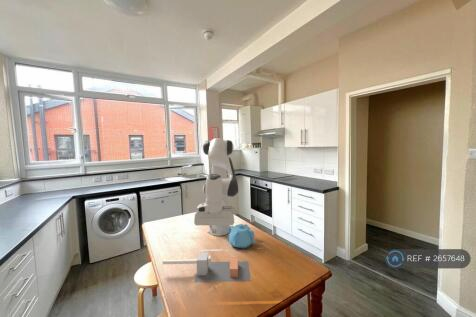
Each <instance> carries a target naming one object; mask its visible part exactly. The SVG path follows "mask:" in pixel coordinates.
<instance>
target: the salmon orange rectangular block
mask: <svg viewBox="0 0 476 317" xmlns="http://www.w3.org/2000/svg"><path fill="white" fill-rule="evenodd" d="M229 262H230V277H238V257H229Z"/></svg>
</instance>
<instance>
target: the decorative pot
mask: <svg viewBox="0 0 476 317" xmlns="http://www.w3.org/2000/svg"><path fill="white" fill-rule="evenodd" d="M229 226H230V227H229V233H228V234H227V237H228V242H229V244H230V245H231V246H232V247H235V248H240V249H242V250H245V249H246V248H248V247H250V246H251V245H253V244H255V242H256V241H255V239H254V238H255V232H254V230H252V229H251V227H250V226H249V225H248V224H247V223H246V224H243V223H239V224H236V225H234V226H233V225H229Z"/></svg>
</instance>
